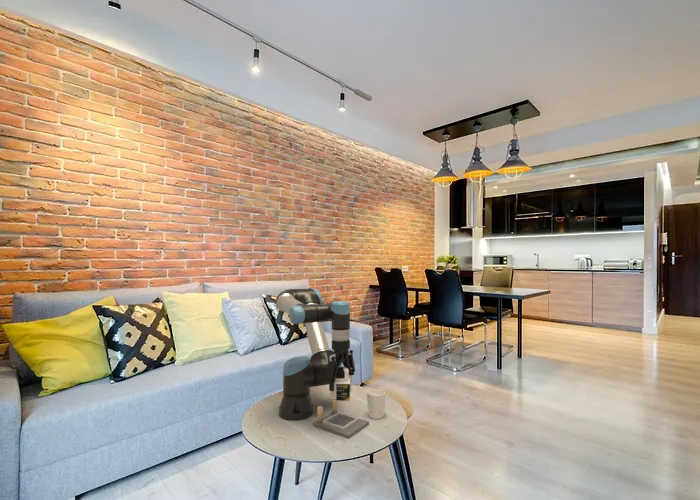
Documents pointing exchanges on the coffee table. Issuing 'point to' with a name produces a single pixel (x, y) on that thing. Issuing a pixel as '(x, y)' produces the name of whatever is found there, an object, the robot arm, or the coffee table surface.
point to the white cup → (376, 403)
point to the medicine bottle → (342, 385)
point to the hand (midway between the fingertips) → (340, 394)
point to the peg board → (339, 422)
